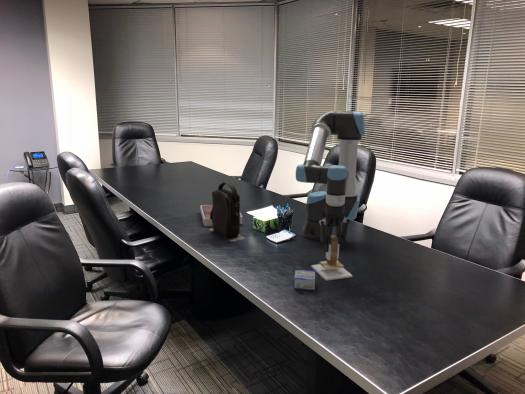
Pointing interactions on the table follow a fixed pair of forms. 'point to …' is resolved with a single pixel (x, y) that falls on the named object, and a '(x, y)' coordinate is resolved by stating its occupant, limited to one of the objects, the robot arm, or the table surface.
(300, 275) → the medicine box
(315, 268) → the mat
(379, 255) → the table surface
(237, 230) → the shoulder bag
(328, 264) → the wooden stamp
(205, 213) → the product packaging
